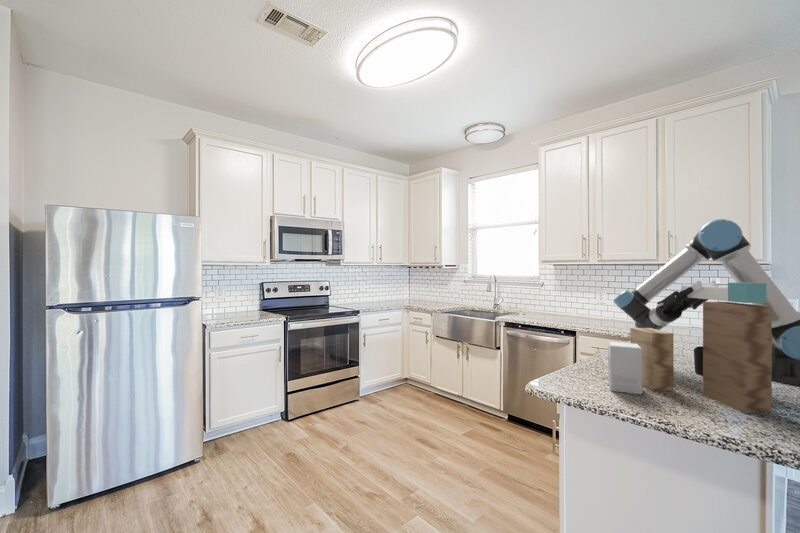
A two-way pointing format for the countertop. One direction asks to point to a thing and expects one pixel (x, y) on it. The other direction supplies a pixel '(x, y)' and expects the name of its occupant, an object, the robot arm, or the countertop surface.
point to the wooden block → (655, 357)
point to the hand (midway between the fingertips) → (707, 284)
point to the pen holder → (698, 360)
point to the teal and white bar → (733, 293)
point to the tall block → (738, 355)
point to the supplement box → (625, 367)
